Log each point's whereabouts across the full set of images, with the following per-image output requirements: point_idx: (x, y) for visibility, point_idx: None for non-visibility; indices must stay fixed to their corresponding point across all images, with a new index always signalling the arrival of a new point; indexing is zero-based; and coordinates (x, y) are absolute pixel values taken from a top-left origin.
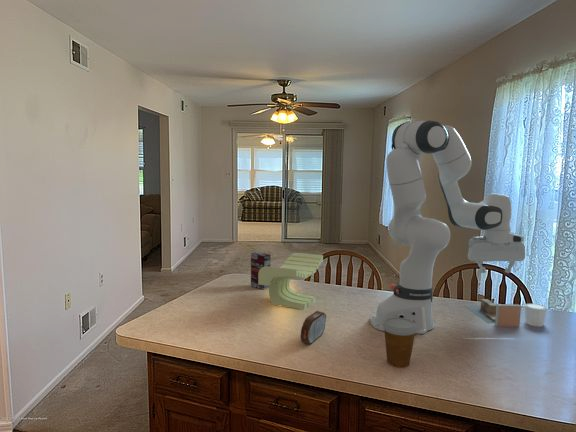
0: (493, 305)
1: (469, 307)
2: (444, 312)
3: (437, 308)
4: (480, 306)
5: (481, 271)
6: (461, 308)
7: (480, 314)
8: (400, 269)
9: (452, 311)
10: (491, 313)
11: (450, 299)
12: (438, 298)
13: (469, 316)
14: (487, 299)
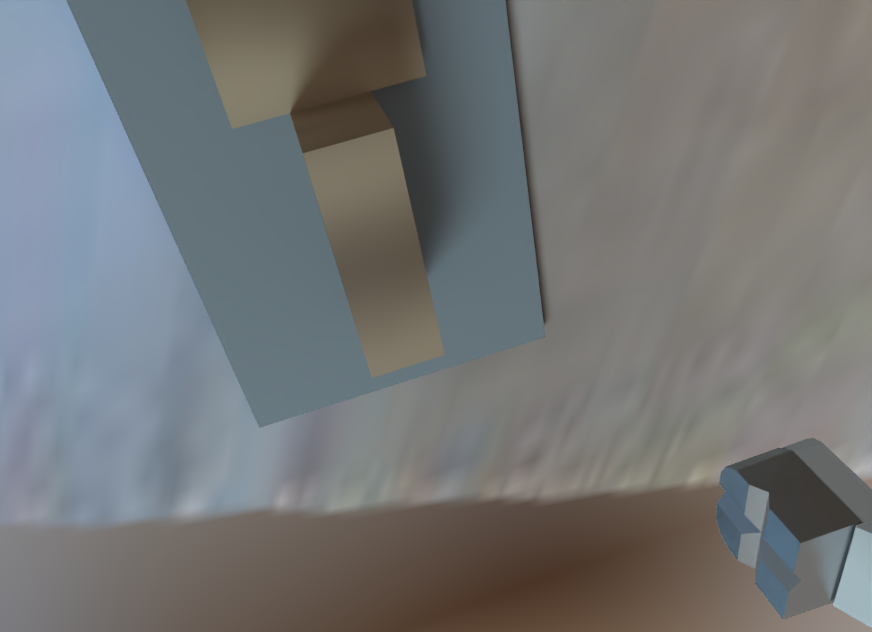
0: (356, 140)
1: (514, 299)
2: (790, 101)
3: (800, 205)
4: None
5: (825, 461)
6: (581, 277)
7: (466, 100)
8: None
9: (701, 157)
10: (357, 97)
11: (591, 475)
12: (678, 463)
13: (588, 36)
14: (373, 367)
